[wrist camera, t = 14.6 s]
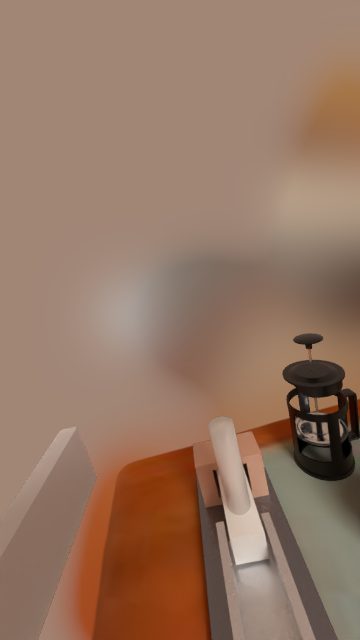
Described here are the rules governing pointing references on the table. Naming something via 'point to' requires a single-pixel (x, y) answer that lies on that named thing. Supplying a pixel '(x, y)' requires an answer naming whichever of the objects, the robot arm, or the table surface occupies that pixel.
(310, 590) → the slotted sleeve
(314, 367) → the french press
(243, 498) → the bar
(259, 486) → the socket block
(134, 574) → the table surface
